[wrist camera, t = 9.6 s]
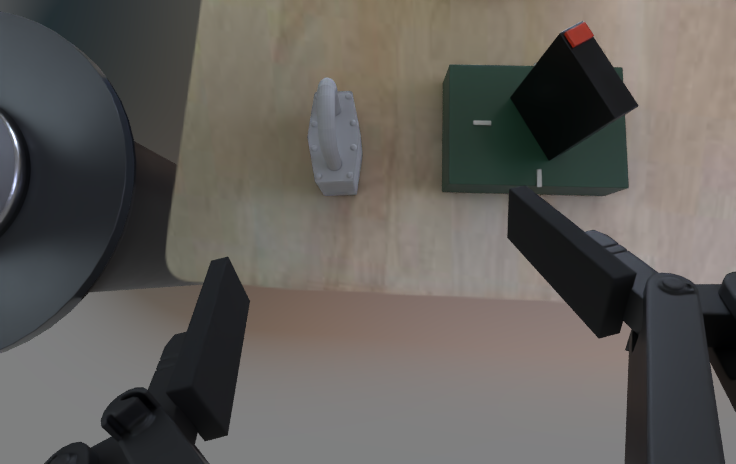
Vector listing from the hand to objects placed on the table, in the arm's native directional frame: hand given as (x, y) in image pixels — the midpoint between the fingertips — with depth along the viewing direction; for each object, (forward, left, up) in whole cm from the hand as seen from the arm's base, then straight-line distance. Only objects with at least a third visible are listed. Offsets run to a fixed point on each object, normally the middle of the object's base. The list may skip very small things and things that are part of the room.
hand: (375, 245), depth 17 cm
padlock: (-3, +9, -14) cm, 17 cm away
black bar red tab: (+13, +11, -11) cm, 20 cm away
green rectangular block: (+13, +11, -14) cm, 22 cm away
